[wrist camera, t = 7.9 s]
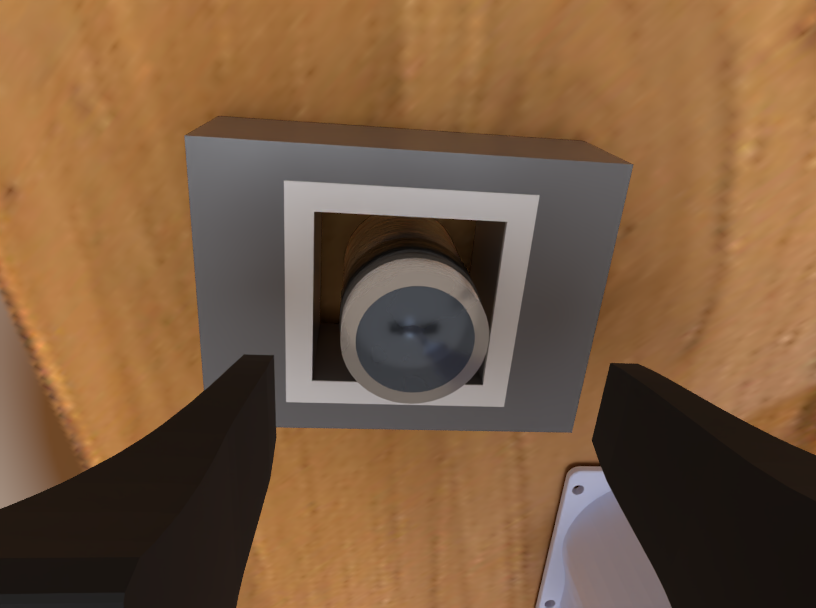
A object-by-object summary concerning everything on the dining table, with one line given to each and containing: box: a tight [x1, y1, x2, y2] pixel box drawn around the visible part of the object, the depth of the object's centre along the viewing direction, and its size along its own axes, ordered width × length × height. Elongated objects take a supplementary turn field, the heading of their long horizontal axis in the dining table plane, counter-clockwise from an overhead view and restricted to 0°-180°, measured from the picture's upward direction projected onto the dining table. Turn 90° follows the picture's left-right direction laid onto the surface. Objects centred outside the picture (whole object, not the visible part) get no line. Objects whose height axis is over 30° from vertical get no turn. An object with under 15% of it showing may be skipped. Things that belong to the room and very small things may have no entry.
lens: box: [339, 215, 489, 404], centre depth 19 cm, size 4×4×6 cm
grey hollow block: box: [185, 116, 633, 433], centre depth 19 cm, size 9×12×4 cm
